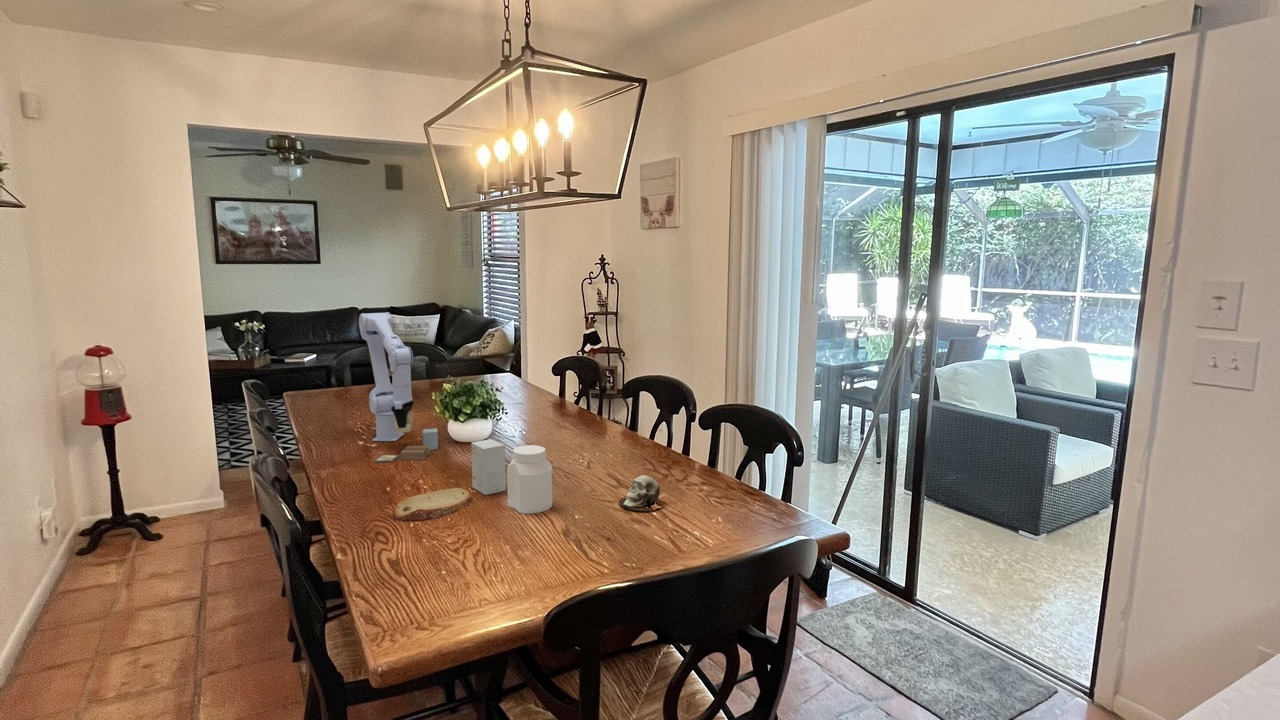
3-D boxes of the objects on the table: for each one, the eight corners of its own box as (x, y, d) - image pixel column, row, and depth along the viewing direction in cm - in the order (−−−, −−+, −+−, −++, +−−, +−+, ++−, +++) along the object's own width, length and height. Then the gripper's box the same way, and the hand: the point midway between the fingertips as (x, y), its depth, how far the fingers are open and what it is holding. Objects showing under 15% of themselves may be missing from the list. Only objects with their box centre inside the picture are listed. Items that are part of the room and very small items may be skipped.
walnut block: (408, 454, 219) (407, 445, 219) (429, 454, 219) (429, 445, 219) (400, 461, 212) (400, 452, 212) (423, 461, 212) (423, 452, 212)
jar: (502, 503, 177) (501, 447, 175) (534, 495, 183) (533, 441, 181) (525, 516, 169) (524, 458, 166) (557, 507, 175) (557, 451, 172)
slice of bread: (473, 495, 184) (473, 482, 183) (464, 521, 166) (464, 506, 166) (405, 497, 182) (404, 483, 181) (388, 523, 164) (388, 509, 164)
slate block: (423, 446, 227) (423, 429, 226) (437, 445, 228) (437, 428, 227) (423, 450, 223) (422, 432, 222) (437, 449, 224) (437, 431, 223)
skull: (638, 514, 169) (622, 477, 173) (621, 530, 176) (606, 494, 180) (676, 502, 176) (659, 467, 180) (658, 518, 183) (643, 484, 187)
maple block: (398, 428, 224) (397, 410, 223) (412, 428, 225) (411, 410, 224) (394, 432, 220) (394, 413, 219) (409, 431, 220) (408, 413, 219)
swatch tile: (380, 456, 215) (380, 454, 215) (399, 456, 215) (399, 454, 215) (373, 462, 209) (373, 460, 209) (393, 462, 210) (393, 460, 209)
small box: (506, 490, 187) (505, 444, 184) (485, 495, 183) (484, 449, 180) (492, 482, 193) (491, 438, 191) (471, 487, 189) (470, 442, 187)
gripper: (393, 380, 226) (395, 420, 229) (384, 389, 212) (386, 431, 214) (415, 380, 227) (417, 419, 230) (407, 389, 213) (409, 431, 215)
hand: (403, 425), depth 222 cm, fingers closed on maple block, 5 cm apart
